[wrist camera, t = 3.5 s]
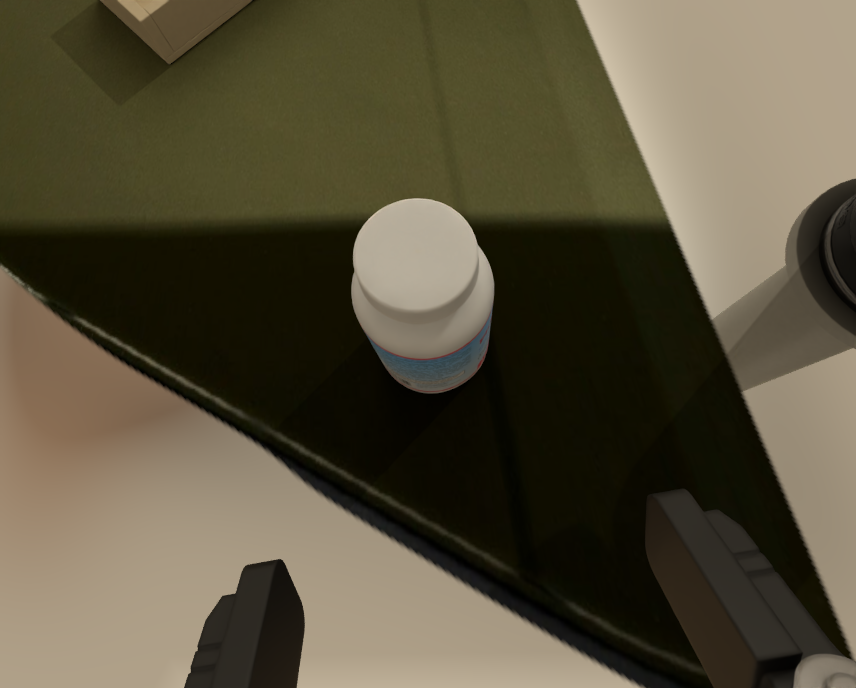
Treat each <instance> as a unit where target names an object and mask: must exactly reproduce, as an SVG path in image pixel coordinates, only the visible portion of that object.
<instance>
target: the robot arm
mask: <svg viewBox="0 0 856 688" xmlns="http://www.w3.org/2000/svg"><path fill="white" fill-rule="evenodd" d="M819 258H820V263H821V267H822V270H823V272H824V275H825V277H826V279H827V281H828V283H829V284H830V286H831V288H832V289H833V290H834V292H835V293H836V294H837V296H838V297H839V298H840V299H841V300H842V301H843V302H844V303H845V304H846V305H847V306H848V307H849V308H851V309H852V310H853V311H854V312H856V195H854V196H852V197H851V198H850V199H848V200H847V201H846V202H845V203H843V204H842V205H841V206H839V207H838V208H837V209H836V210H835V211H834V212H833V213H832V214H831V215H830V217H829V218H828V219H827V221H826V222H825V224H824V226H823V229H822V232H821V235H820V240H819ZM645 548H646V553H647V557H648V560H649V563H650V566H651V568H652V571H653V573H654V575H655V577H656V579H657V581H658V582H659V584H660V586H661V588H662V590H663V592H664V594H665V596H666V598H667V600H668V601H669V603H670V605H671V607H672V609H673V611H674V613H675V615H676V617H677V618H678V620H679V622H680V624H681V626H682V628H683V630H684V632H685V634H686V636H687V637H688V639H689V641H690V643H691V645H692V647H693V649H694V651H695V653H696V655H697V656H698V658H699V660H700V662H701V664H702V666H703V668H704V670H705V672H706V674H707V675H708V677H709V679H710V681H711V683H712V685H713V687H714V688H856V662H855V661H853V660H851V659H848V658H846V657H845V656H844V655H843V654H842V653H840V652H839V651H838V650H837V648H836V647H835V646H834V645H833V644H832V643H831V641H830V640H829V639H828V638H827V636H826V635H825V634H824V632H823V631H822V630H821V628H820V627H819V626H818V625H817V623H816V622H815V621H814V619H813V618H812V617H811V615H810V614H809V613H808V612H807V610H806V609H805V608H804V606H803V605H802V604H801V602H800V601H799V600H798V599H797V597H796V596H795V595H794V593H793V592H792V591H791V589H790V588H789V587H788V586H787V584H786V583H785V582H784V580H783V579H782V578H781V576H780V575H779V574H778V573H777V572H775V571H774V567H773V566H772V565H771V564H770V562H769V561H768V560H767V558H766V557H765V556H764V554H763V553H762V554H761V553H760V551H759V548H758V547H757V545H756V544H755V543H754V541H753V540H752V539H751V538H750V536H749V535H748V534H747V532H746V531H745V530H744V528H743V527H742V526H740V525H739V524H738V523H736V522H735V521H733V520H732V519H730V518H729V517H728V516H726V515H725V514H723V513H722V512H721V511H719V510H718V509H717V510H711V511H706V512H703V511H702V509H701V508H700V507H699V505H698V504H697V502H696V501H695V499H694V498H693V497H692V495H691V494H690V493H689V492H688V491H687V490H686V489H677V490H672V491H666V492H661V493H655V494H649V495H648V497H647V502H646V528H645ZM304 628H305V623H304V611H303V606H302V602H301V600H300V597H299V595H298V593H297V591H296V588H295V586H294V584H293V581H292V579H291V577H290V575H289V572H288V570H287V568H286V565H285V563H284V562H283V560H281V559H278V560H273V561H267V562H261V563H256V564H250V565H247V566H245V567H244V569H243V571H242V573H241V577H240V580H239V584H238V587H237V591H236V594H231V595H225V596H222V597H221V599H220V600H219V602H218V604H217V605H216V606H215V608H214V609H213V610H212V612H211V613H210V615H209V616H208V618H207V619H206V621H205V624H204V627H203V631H202V633H201V637H200V640H199V643H198V651H196V652H195V655H194V658H193V662H192V665H191V673H190V674H188V677H187V680H186V683H185V687H184V688H297V680H298V672H299V666H300V659H301V652H302V645H303V638H304Z"/></svg>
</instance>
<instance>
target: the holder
mask: <svg viewBox="0 0 856 688" xmlns="http://www.w3.org/2000/svg"><path fill="white" fill-rule="evenodd" d="M100 1H101V2H102V3H103V4H104V5H106V6H107V7H108V8H109V9H110V10H111V11H112V12H113V13H114V14H115V15H116V16H117V17H118V18H119V19H121V20H122V21H123V22H124V23H125V24H126V25H127V26H128V27H129V28H130V29H131V30H132V31H133V32H134V33H136V34H137V35H138V36H139V37H140V38H141V39H142V40H143V41H144V42H145V43H146V44H147V45H148V46H150V47H151V48H152V49H153V50H154V51H155V52H156V53H157V54H158V55H159V56H160V57H161V58H162V59H163V60H165V61H166V62H167V63H168V64H171V63H172V62H174V61H175V60H176V59H177V58H179V57H180V56H181V55H183V54H184V53H185V52H187V51H188V50H189V49H190V48H192V47H193V46H194V45H196V44H197V43H198V42H199V41H201V40H202V39H203V38H205V37H206V36H207V35H209V34H210V33H211V32H212V31H214V30H215V29H216V28H218V27H219V26H220V25H222V24H223V23H224V22H225V21H227V20H228V19H229V18H231V17H232V16H233V15H235V14H236V13H237V12H238V11H240V10H241V9H242V8H244V7H245V6H246V5H247V4H249V3H250V2H251V1H253V0H100Z"/></svg>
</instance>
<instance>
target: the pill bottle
mask: <svg viewBox="0 0 856 688" xmlns="http://www.w3.org/2000/svg"><path fill="white" fill-rule="evenodd" d="M353 264H354V269H355V272H354V275H353V280H352V302H353V307H354V311H355V313H356V316H357V318H358V320H359V322H360V324H361V326H362V328H363V330H364V332H365V333H366V335H367V337H368V338H369V340H370V342H371V344H372V345H373V347H374V349H375V351H376V352H377V354H378V356H379V357H380V359H381V361H382V363H383V364H384V366H385V368H386V369H387V370H388V372H389V373H390V374H391V375H392V377H393V378H394V379H395V380H397V381H398V382H399V383H401V384H402V385H404V386H405V387H407V388H409V389H411V390H414V391H417V392H422V393H440V392H445V391H448V390H451V389H454V388H456V387H458V386H460V385H461V384H463V383H465V382H466V381H467V380H469V379H470V378H471V377H472V376H473V375H474V374H475V373H476V372H477V371H478V369H479V368H480V367H481V365H482V363H483V361H484V359H485V356H486V353H487V349H488V343H489V334H490V325H491V317H492V307H493V299H494V281H493V275H492V271H491V267H490V265H489V262H488V260H487V258H486V256H485V254H484V253H483V252H482V250H481V249H480V247H479V246H478V245H477V241H476V238H475V235H474V233H473V231H472V229H471V227H470V226H469V224H468V223H467V221H466V220H465V219H464V218H463V217H462V216H461V215H460V214H459V213H458V212H457V211H455V210H454V209H452V208H451V207H449V206H447V205H445V204H443V203H441V202H437V201H434V200H429V199H417V198H415V199H406V200H401V201H398V202H395V203H392V204H390V205H387V206H385V207H384V208H382V209H380V210H379V211H377V212H376V213H375V214H374V215H372V216H371V217H370V218H369V219H368V221H367V222H366V223H365V224H364V225H363V227H362V229H361V230H360V232H359V234H358V236H357V239H356V242H355V246H354V251H353Z"/></svg>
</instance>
